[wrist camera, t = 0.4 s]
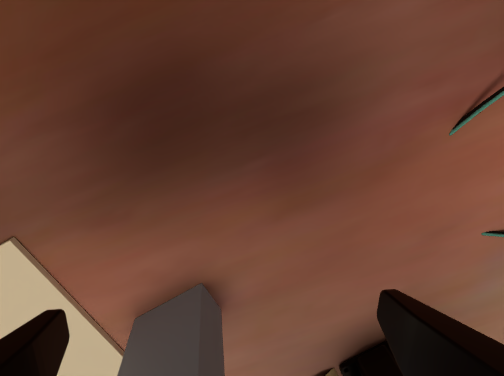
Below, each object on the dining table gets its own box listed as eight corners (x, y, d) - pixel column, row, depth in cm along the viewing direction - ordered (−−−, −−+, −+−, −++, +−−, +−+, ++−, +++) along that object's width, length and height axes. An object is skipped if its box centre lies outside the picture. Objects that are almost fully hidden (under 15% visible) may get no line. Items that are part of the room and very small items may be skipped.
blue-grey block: (221, 310, 25) (228, 426, 17) (157, 344, 25) (131, 475, 17) (201, 282, 24) (197, 392, 16) (134, 318, 24) (95, 445, 16)
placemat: (137, 365, 26) (136, 371, 25) (5, 435, 26) (2, 442, 26) (13, 236, 21) (9, 240, 20) (-145, 326, 22) (-152, 331, 21)
